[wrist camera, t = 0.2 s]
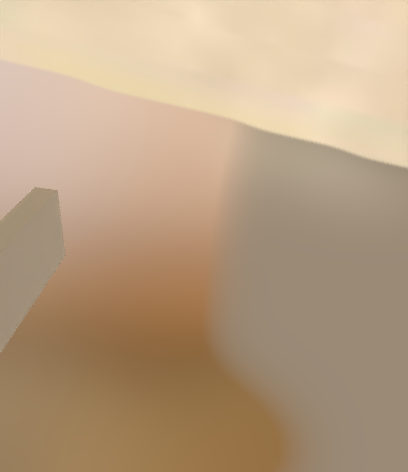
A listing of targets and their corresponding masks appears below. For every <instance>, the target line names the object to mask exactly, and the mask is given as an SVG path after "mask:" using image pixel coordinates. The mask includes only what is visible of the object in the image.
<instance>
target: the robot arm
mask: <svg viewBox="0 0 408 472" xmlns="http://www.w3.org/2000/svg"><path fill="white" fill-rule="evenodd" d="M64 257H65V248H64V240H63V231H62V224H61V215H60V207H59V199H58V191H57V190H51V189H44V188H36V187H35V188H34V189H33V190H32V191H31V192H30V193H29V194H28V195H27V196H26V197H25V198H23V199H22V201H20V202H19V203H18V204H17V205H16V206H15V207H14V208H13V209H12V210H11V211H10V212H9V213H8V214H7V215H6V216H5V217H4V218H3V219H2V220H1V221H0V353H1V351H2V350H3V348H4V347H5V345H6V344H7V342H8V341H9V339H10V338H11V336H12V335H13V333H14V332H15V330H16V329H17V327H18V326H19V324H20V323H21V321H22V320H23V318H24V317H25V315H26V314H27V312H28V311H29V309H30V308H31V306H32V305H33V303H34V302H35V300H36V299H37V297H38V296H39V294H40V293H41V291H42V290H43V288H44V287H45V285H46V284H47V282H48V281H49V279H50V278H51V276H52V275H53V273H54V272H55V270H56V269H57V267H58V266H59V264H60V263H61V261H62V260H63V258H64Z"/></svg>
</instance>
